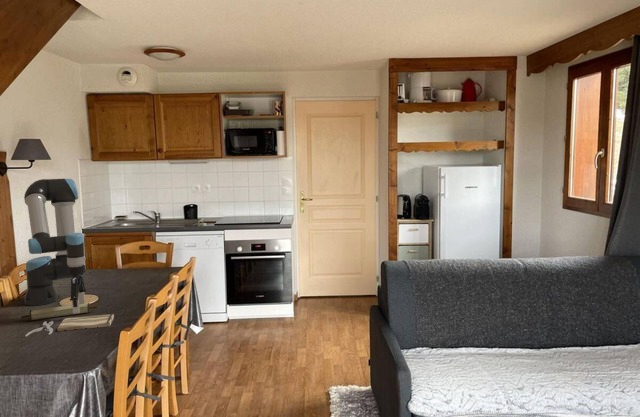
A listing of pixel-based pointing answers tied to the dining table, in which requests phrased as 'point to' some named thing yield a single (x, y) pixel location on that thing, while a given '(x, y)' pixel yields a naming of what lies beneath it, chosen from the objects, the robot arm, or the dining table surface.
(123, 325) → the dining table surface
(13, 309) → the dining table surface
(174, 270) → the dining table surface
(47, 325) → the pliers
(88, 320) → the marking board
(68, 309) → the rolling pin
